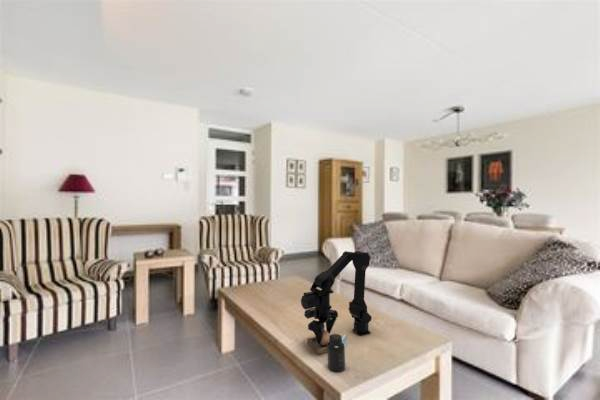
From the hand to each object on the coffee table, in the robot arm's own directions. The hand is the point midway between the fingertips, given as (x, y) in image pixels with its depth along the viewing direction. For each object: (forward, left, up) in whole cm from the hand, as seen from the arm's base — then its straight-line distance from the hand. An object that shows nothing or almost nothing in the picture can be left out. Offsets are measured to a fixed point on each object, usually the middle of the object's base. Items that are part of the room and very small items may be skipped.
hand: (323, 338), depth 126 cm
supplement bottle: (+3, +16, -3) cm, 17 cm away
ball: (0, 0, -3) cm, 3 cm away
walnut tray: (0, 0, -3) cm, 3 cm away
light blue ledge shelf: (-4, +6, -3) cm, 8 cm away
